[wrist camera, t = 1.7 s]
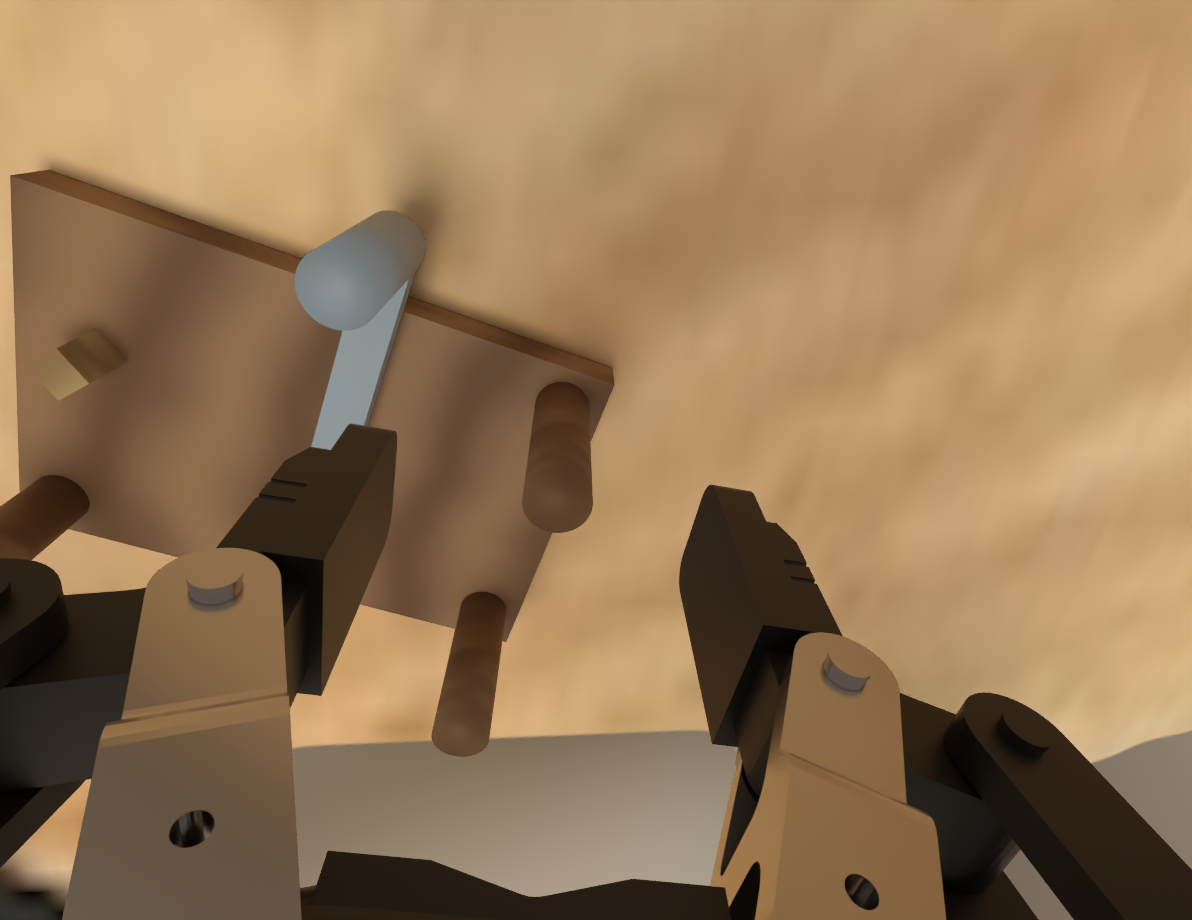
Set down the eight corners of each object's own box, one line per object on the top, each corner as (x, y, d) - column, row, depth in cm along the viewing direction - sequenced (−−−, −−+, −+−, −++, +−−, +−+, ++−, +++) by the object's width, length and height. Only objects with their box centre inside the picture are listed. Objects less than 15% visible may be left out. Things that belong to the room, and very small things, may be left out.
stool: (612, 368, 31) (626, 475, 22) (509, 616, 38) (489, 772, 29) (47, 169, 26) (-215, 207, 18) (49, 494, 34) (-138, 636, 25)
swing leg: (329, 577, 34) (267, 698, 27) (276, 560, 33) (199, 680, 26) (441, 222, 26) (393, 269, 19) (375, 193, 25) (301, 231, 18)
